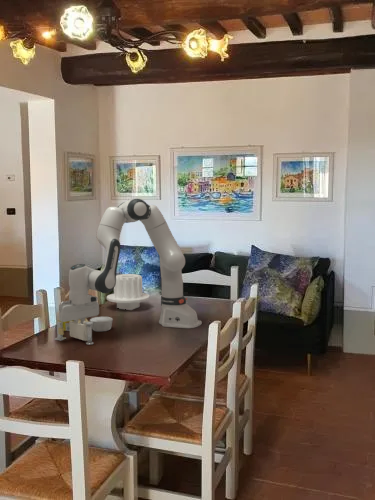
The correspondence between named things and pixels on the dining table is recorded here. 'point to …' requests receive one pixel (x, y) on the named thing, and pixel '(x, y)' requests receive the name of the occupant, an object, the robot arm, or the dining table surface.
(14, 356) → the dining table surface
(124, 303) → the ribbed cylinder on disc
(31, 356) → the dining table surface
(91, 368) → the dining table surface
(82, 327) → the gate
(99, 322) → the ramekin
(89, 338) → the gate post
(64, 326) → the crayon box
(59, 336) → the post
